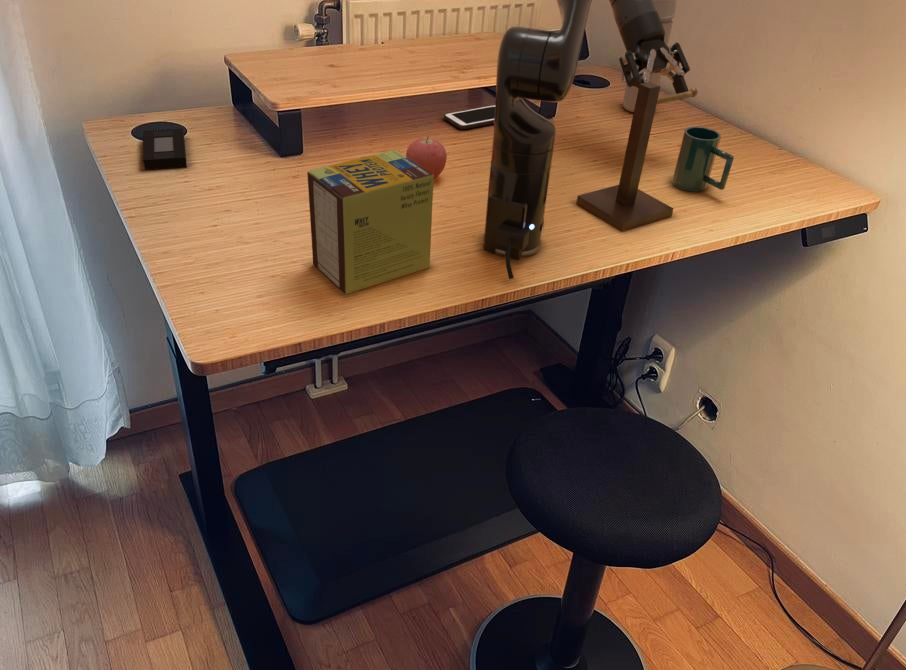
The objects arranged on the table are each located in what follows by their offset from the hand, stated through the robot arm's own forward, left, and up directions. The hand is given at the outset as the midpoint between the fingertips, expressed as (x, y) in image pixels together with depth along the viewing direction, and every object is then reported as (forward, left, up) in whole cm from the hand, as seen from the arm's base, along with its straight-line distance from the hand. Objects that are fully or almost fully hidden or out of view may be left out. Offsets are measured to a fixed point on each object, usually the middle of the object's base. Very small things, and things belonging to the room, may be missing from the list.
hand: (668, 101), depth 148 cm
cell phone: (+3, +40, -13) cm, 42 cm away
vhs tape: (-47, +83, -13) cm, 97 cm away
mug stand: (-20, -2, -13) cm, 24 cm away
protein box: (-63, +28, -13) cm, 70 cm away
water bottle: (+30, +13, -13) cm, 35 cm away
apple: (-30, +36, -13) cm, 48 cm away
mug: (-6, -10, -13) cm, 18 cm away
